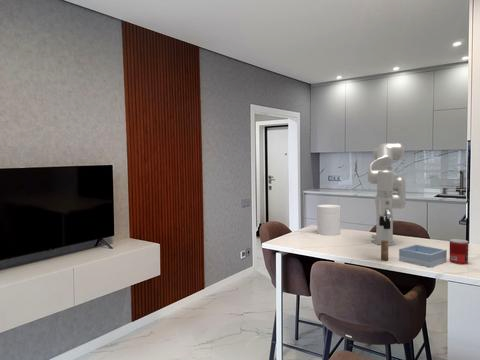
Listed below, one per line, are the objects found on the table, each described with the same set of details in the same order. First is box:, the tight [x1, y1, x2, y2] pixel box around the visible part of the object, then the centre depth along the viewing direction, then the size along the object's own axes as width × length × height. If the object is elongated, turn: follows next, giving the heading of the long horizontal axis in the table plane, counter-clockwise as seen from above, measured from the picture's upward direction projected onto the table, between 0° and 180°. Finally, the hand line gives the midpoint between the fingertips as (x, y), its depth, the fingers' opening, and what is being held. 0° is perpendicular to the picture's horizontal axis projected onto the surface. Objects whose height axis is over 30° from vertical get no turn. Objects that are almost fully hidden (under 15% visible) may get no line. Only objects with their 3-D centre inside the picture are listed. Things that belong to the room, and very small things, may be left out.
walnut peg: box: [380, 240, 389, 262], centre depth 186 cm, size 4×4×10 cm
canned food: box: [449, 238, 469, 265], centre depth 180 cm, size 8×8×11 cm
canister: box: [316, 204, 341, 237], centre depth 257 cm, size 16×16×20 cm
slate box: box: [398, 244, 448, 268], centre depth 183 cm, size 16×16×6 cm
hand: (384, 227), depth 185 cm, fingers open, 9 cm apart
